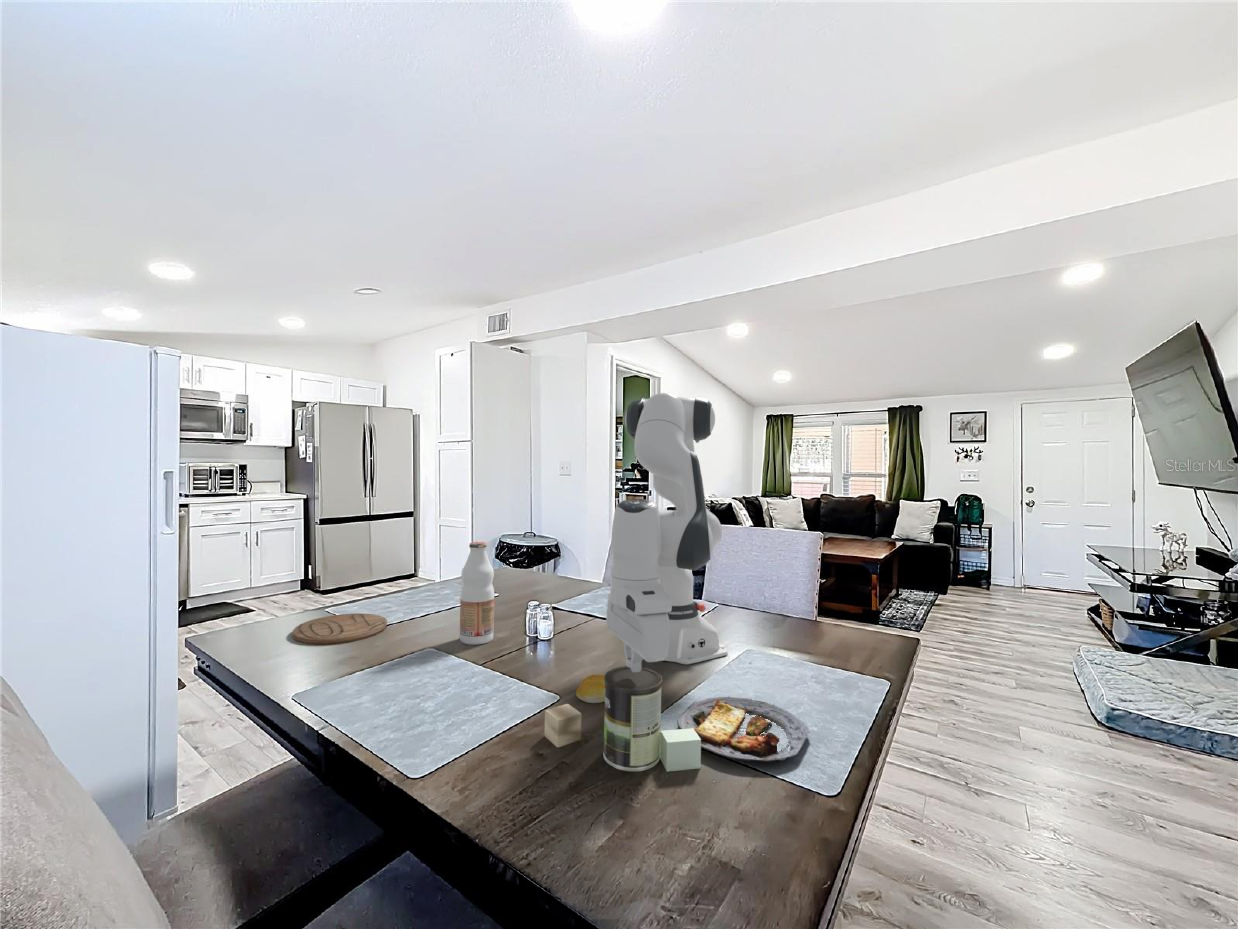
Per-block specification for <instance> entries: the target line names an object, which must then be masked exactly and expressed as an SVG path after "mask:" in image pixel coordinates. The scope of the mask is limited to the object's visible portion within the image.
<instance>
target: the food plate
mask: <svg viewBox="0 0 1238 929" xmlns="http://www.w3.org/2000/svg"><path fill="white" fill-rule="evenodd" d="M746 713H747V714H749V715H756V716H755V717H752V716H751V717H750V718H749V720H748V722H746V727H747V728H745V727H744V725H743V722H744V721H745V720H746V715H745V714H746ZM760 716H761V717H760ZM744 719H745V720H744ZM765 719H768V720H770V721H771V722H774V723H776V725H777V726H780V727H781V729H784V730H783V731H784V732H785V733H786V736H787V738H786V736H785V738H786V739H789V740H788V742H787V741H786V747H784V748H783V747H782V749H781V751H779V752H778V751H777V744H779V743H778V742H780V739H781V738H779V736H776V734H775V733H773V732H768V733H767V734H762V735H760V734H761V733H763V732H764V731H765V730H766V729H767V730H768V728H769V726H771V727H772V726H773V724H772V723H771V722H768V721H766V720H765ZM676 723H677V728H678V729H690V728H693V729H694V730H695V731H696V733H697V734H698V736H699V737H700V739H701V749H704V750H706V751H708V752H711V753H714V754H716V755H719V756H721V757H723V758H725V759H730V760H736V761H741V762H742V761H744V762H750V761H752V762H760V763H774V762H776V764H778V763H779V762H783V761H785V760H786V758H788V759H793V758H794V757H796V755H797V754H799V753H800V751H801V748H802V747H803V746H804V745H805V744H804V743H805V741H806V740H807V738H808V735H809V734H810V733H811V731H810V728H809V727H808V725H807V724H805V723H804V722H803V721H802V720H800V719H799V718H798V717H796V716H795V715H794V714H792V713H791V712H789V711H788V710H786V709H784V708H782V707H779V706H777V705H775V704H771V703H769V702H766V701H762V700H754V699H752V698H748V697H735V696H734V697H732V696H718V697H717V696H716V697H715V696H714V697H709V698H705V699H703V700H698V701H694V702H692V703H691V704H690V705H689V706H688V707H687V708H686V709H685V710H683V712H682V713H681V715H679V717H677V721H676ZM744 723H745V722H744ZM741 726H743V727H744V728H743V727H741ZM740 729H746V731H745V732H746V734H745V735H743V734H741V733H740V732H744V730H743V731H741V730H740ZM769 729H770V728H769ZM767 730H766V731H767ZM766 731H765V732H766ZM783 731H782V732H783ZM738 732H739V733H738ZM740 736H741V737H740ZM763 736H764V737H763ZM736 739H737V740H736ZM787 743H788V744H787ZM782 746H784V745H782ZM789 746H790V749H789V750H790V751H788V750H787V749H788V747H789Z"/></svg>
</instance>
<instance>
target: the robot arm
mask: <svg viewBox="0 0 1238 929" xmlns="http://www.w3.org/2000/svg"><path fill="white" fill-rule="evenodd" d="M712 405H713V404H712V403H711V401H710V400H709V399H706V398H702V397H698V396H696V397H695V398H693V397H689V396H687V397H686V396H676V395H674V394H672V393H669V392H660V393H659V392H658V393H655V394H653V395H651V396H649V398H645V397H642V398H637V399H634V400H632V401H631V402H630V403H629V404H628V406H627V407H626V412H625V416H624V423H625V427H626V431H627V433H628V435H629V436H630V437H631V438H632V439H634V445H633V446H634V447H633V448H634V455H635V457H636V460H637V461H638V463H639V464H640V465H641V467H642V468H644V469H645V470H647V471H648V472H649V473H650V474H653V476H652V477H653V484H652V485H653V489H654V492H656V493H657V495H658V496H659V497H661V498H663V499H664V500H667V501H669V502H670V503H671V504H673V506H674V507H675V509H674V510H672V509H669V510H668V509H659V507H658V504H657V503H656V502H655V501H652V500H649V499H645V498H644V499H643V498H630V499H626V500H622V501H620V502H619V503H617V504H616V505H615V511H614V513H613V519H612V520H613V521H612V527H611V528H612V529H611V536H610V538H611V542H610V552H611V555H612V567H611V571H610V585H609V586H610V590H609V594H608V597H607V602H606V603H607V605H606V618H605V620H606V622H605V623H606V627H607V629H608V630H609V631H610V632H611V633H613V635H615V636H616V637H617V638H618V639H620V640H621V641H622V642H623V643H622V646H623V647H622V648H623V651H624V655H625V666H627V667H628V668H629V669H630V670H631V671H632V672H634V673H635V672H640V671H641V667H642V661H643V660H644V661H645V662H647V663H656V662H662V661H666V662H673V663H677V664H680V665H681V664H682V665H691V664H696V663H699V662H703V661H708V660H712V659H715V658H716V659H717V658H720V657H724V656H727V655H729V653H728V649H727V647H726V646H725V645H724V644H722V643H721V642H720V639H719V632H718V631H717V629H716V628H715V626H713V625H712V624H711V623H710V622H708V620H706V619H705V618H704V617H703V616H701V615H700V614H699V612H700V613H704V612H705V611H706V605H705V604H702V602H701V603H700V602H699V603H698V602H696V601H694V575H693V572H692V571H697V570H699V569H701V568H702V567H703V566H705V565H706V564H708V562H710V560H712V559H711V557H712V556H713V555H712V554H713V550H714V549H716V547H718V545H719V543H720V542H721V539H722V535H723V529H722V524H721V522H720V520H719V518H718V517H717V516H716V515H715V514H714V513H713V512H711V511H709V509H708V508H707V504H706V499H705V497H706V496H705V488H704V483H703V477H702V476H703V475H702V471H701V465H700V462H699V461H700V460H699V458H698V455H697V454H696V452H695V443H696V444H699V443H700V442H701V441H705V440H706V439H707V438H709V437H710V436H711V435H712V432H713V430H714V427H715V423H716V414H715V410H714V408H713V406H712ZM694 442H695V443H694Z"/></svg>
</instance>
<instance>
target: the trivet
mask: <svg viewBox="0 0 1238 929" xmlns="http://www.w3.org/2000/svg"><path fill="white" fill-rule="evenodd" d="M387 622H388V620H387V619H386V617H384V616H383V615H382V616H381V615H379V614H374V613H343V614H334V615H328V616H323V617H318V618H314V619H310V620H308V621H305V622H302V623H301V624H298V625H297V626H296V627H294V629H293V630H292V638H293V640H294V641H296V642H298V643H301V644H304V643H305V645H315V646H318V645H319V646H321V645H322V646H328V645H330V646H331V645H341V644H345V643H352V642H357V641H363V640H366V639H369V638H372V637H375V636H377V635H379V634H380V633H383V632H384V631H385V630H387V627H386V626H388V624H387Z"/></svg>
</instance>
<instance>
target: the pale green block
mask: <svg viewBox="0 0 1238 929" xmlns="http://www.w3.org/2000/svg"><path fill="white" fill-rule="evenodd" d="M701 753H702V748H701V739H700V737H699V736H698V734H697V733H696V731H695V730H694V729H693V728H690V729H679V728H678V729H667V730H660V761H661V763H662V764H663V767H664V768H665V771H666V772H675V771H687V770H695V769H696V770H697V769H701V765H702V764H701V759H702V758H701V757H702V756H701V755H702V754H701Z"/></svg>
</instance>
